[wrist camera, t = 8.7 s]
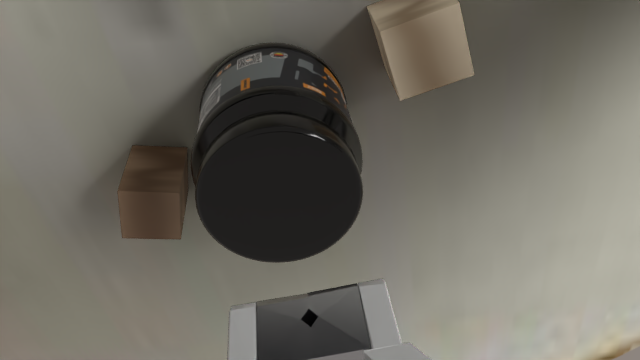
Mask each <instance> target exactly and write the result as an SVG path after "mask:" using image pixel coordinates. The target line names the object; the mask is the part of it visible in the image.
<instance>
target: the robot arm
mask: <svg viewBox="0 0 640 360" xmlns="http://www.w3.org/2000/svg"><path fill="white" fill-rule="evenodd" d="M227 360H432V359H430V358H429V357H428V356H427V355H425V354H424V353H423V352H422V351H420V350H419V349H418V348H417V347H415V346H414V345H413V344H411V343H410V342H409V343H403V344H402V341H401V337H400V333H399V330H398V326H397V322H396V319H395V315H394V311H393V308H392V304H391V300H390V297H389V293H388V289H387V286H386V282H385V280H384V279H383V278H381V279H376V280H371V281H366V282H361V283H358V285H357V283H356V284H351V285H346V286H341V287H336V288H330V289H325V290H320V291H315V292H310V293H307V294H300V295H294V296H288V297H281V298H275V299H269V300H263V301H257V302H254V303H247V304H241V305H234V306H231V309H230V312H229V328H228V352H227Z"/></svg>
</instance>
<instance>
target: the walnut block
mask: <svg viewBox="0 0 640 360" xmlns="http://www.w3.org/2000/svg"><path fill="white" fill-rule="evenodd" d="M117 192H118V202H119V212H120V222H121V231H122V238H140V239H181V234H182V228H183V221H184V215H185V208H186V202H187V195H188V159H187V147H165V146H139V145H132V148H131V151H130V154H129V157H128V160H127V163H126V166H125V169H124V173H123V176H122V179H121V182H120V185H119V188H118V191H117Z"/></svg>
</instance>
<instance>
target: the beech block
mask: <svg viewBox="0 0 640 360" xmlns="http://www.w3.org/2000/svg"><path fill="white" fill-rule="evenodd" d="M367 9H368V13H369V16H370V19H371V23H372V26H373V29H374V33H375V36H376V39H377V43H378V46H379V49H380V53H381V56H382V59H383V63H384V66H385V69H386V72H387V74H388V76H389V78H390V80H391V83H392V85H393V87H394V89H395V91H396V93H397V95H398V98H399V100H400V101H402V100H405V99H408V98H411V97H413V96H416V95H419V94H422V93H425V92H428V91H431V90H433V89H436V88H439V87H442V86H445V85H448V84H451V83H453V82H456V81H459V80H462V79H465V78H468V77H471V76H473V75H474V71H473V66H472V61H471V56H470V51H469V47H468V42H467V37H466V32H465V27H464V22H463V17H462V13H461V8H460V3H459V2H458V1H457V0H382V1H380V2H377V3H374V4H371V5H369V6H367Z"/></svg>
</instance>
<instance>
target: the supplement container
mask: <svg viewBox="0 0 640 360" xmlns="http://www.w3.org/2000/svg"><path fill="white" fill-rule="evenodd" d="M362 163H363V160H362V149H361V144H360V141H359V137H358V135H357V132H356V130H355V128H354V126H353V125H352V121H351V118H350V115H349V111H348V108H347V103H346V97H345V94H344V90H343V88H342V85H341V83H340V81H339V79H338V77H337V76H336V74H335V73H334V72H333V70H332V69H331V68H330V67H329V66H328V65H327V64H326V63H325V62H324V61H323V60H322V59H321V58H319V57H318V56H316V55H315V54H313V53H311V52H310V51H308V50H305V49H303V48H301V47H298V46H294V45H290V44H285V43H262V44H257V45H252V46H249V47H246V48H244V49H241V50H239V51H237V52H236V53H234V54H232V55H231V56H229V57H228V58H226V59H225V60H224V61H223V62H222V63H221V64H219V66H218V67H217V68H216V69H215V70H214V71H213V73H212V74H211V76H210V77H209V79H208V81H207V83H206V85H205V87H204V90H203V93H202V97H201V102H200V117H199V123H198V130H197V135H196V138H195V140H194V144H193V148H192V154H191V171H192V177H193V181H194V184H195V187H196V190H195V200H196V207H197V211H198V214H199V217H200V220H201V221H202V223H203V225H204V227H205V228H206V230H207V231H208V233H209V234H210V235H211V236H212V237H213V238H214V239H215V240H216V241H217V242H218V243H219V244H221V245H222V246H223V247H225V248H226V249H228V250H230V251H231V252H233V253H236V254H238V255H240V256H243V257H245V258H249V259H252V260H257V261H262V262H275V263H279V262H291V261H297V260H301V259H305V258H308V257H311V256H314V255H316V254H318V253H320V252H322V251H324V250H326V249H328V248H329V247H331V246H332V245H334V244H335V243H336V242H338V241H339V240H340V239H341V238H342V237H343V236H344V235H345V234H346V233H347V232H348V230H349V229H350V228H351V227H352V225H353V223H354V222H355V220H356V218H357V216H358V214H359V211H360V208H361V204H362V197H363V185H362V179H361V172H362Z"/></svg>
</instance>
